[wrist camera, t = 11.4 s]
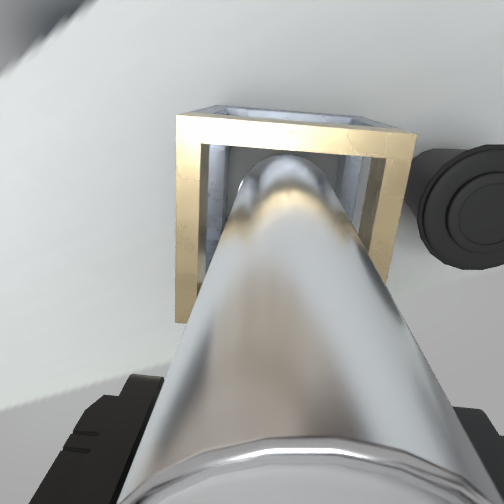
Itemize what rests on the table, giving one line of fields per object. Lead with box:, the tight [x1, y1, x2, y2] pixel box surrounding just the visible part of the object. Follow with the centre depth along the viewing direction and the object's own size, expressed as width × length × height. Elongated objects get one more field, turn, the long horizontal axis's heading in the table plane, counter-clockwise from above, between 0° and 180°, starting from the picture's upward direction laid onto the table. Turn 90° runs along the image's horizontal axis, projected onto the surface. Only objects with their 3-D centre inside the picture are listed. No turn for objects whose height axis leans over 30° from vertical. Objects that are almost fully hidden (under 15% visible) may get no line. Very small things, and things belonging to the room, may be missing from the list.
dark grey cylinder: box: [404, 145, 504, 270], centre depth 29 cm, size 8×8×10 cm
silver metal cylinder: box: [117, 154, 504, 504], centre depth 17 cm, size 6×6×25 cm
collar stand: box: [175, 105, 417, 324], centre depth 28 cm, size 11×11×14 cm
